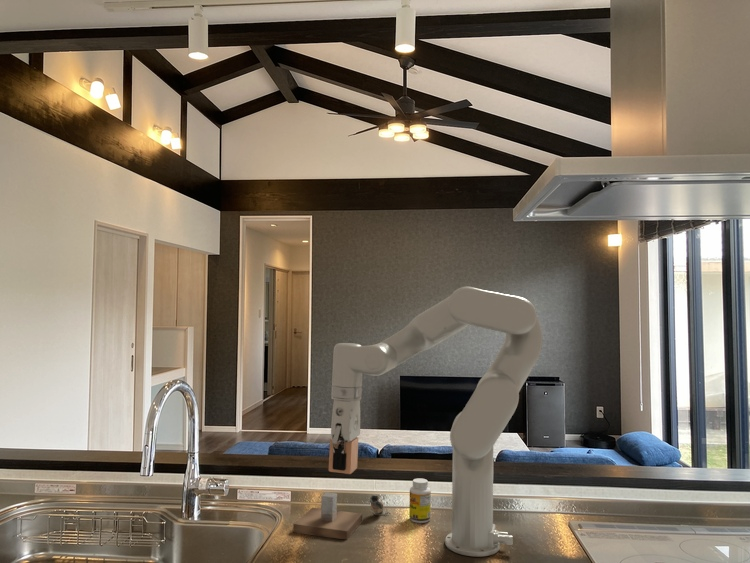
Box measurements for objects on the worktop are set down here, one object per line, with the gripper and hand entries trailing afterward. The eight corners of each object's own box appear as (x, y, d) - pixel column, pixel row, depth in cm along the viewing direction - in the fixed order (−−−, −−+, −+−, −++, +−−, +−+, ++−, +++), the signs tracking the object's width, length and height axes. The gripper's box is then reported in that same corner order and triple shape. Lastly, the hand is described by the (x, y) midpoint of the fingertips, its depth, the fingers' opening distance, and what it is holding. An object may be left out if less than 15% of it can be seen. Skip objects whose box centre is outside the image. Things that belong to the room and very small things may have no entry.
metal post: (336, 517, 141) (336, 493, 141) (332, 521, 138) (332, 497, 138) (325, 515, 142) (325, 492, 142) (321, 520, 139) (321, 495, 139)
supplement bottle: (406, 517, 147) (406, 478, 148) (425, 515, 149) (426, 476, 149) (413, 525, 142) (414, 484, 142) (433, 522, 143) (434, 482, 144)
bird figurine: (381, 522, 143) (380, 498, 144) (363, 519, 146) (362, 496, 147) (391, 515, 148) (389, 492, 149) (373, 513, 151) (372, 490, 151)
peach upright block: (357, 467, 139) (358, 437, 139) (350, 474, 134) (351, 442, 134) (336, 465, 141) (337, 435, 141) (328, 471, 135) (330, 439, 136)
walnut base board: (362, 521, 143) (362, 513, 144) (347, 539, 132) (347, 531, 132) (312, 515, 147) (312, 507, 147) (293, 532, 136) (293, 523, 136)
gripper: (350, 399, 129) (346, 477, 128) (370, 389, 145) (367, 459, 144) (320, 396, 131) (316, 474, 130) (343, 387, 147) (340, 456, 146)
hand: (343, 465), depth 137 cm, fingers closed on peach upright block, 5 cm apart
